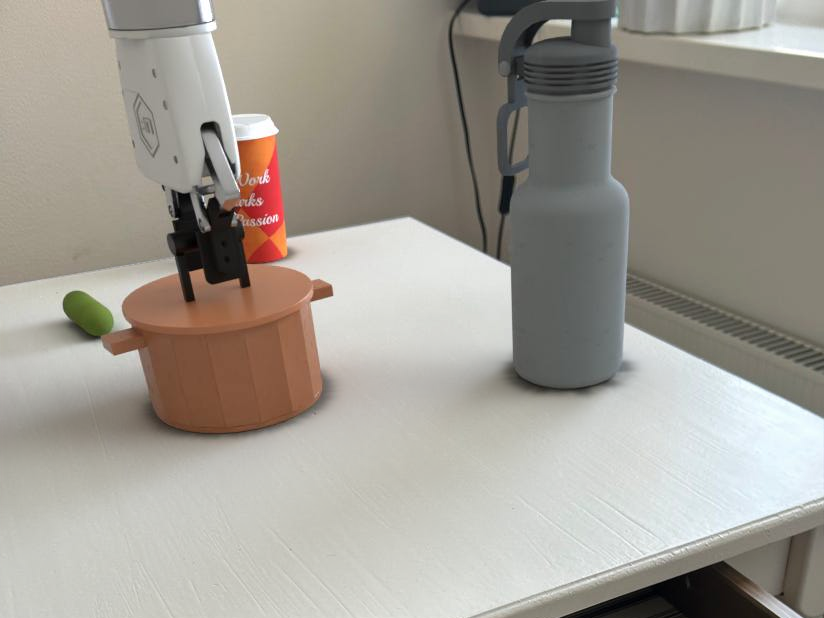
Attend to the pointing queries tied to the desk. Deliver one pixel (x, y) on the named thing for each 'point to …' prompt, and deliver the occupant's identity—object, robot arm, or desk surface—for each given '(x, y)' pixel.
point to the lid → (215, 295)
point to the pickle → (88, 313)
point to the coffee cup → (259, 189)
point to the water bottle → (565, 196)
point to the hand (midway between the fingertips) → (213, 271)
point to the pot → (230, 372)
